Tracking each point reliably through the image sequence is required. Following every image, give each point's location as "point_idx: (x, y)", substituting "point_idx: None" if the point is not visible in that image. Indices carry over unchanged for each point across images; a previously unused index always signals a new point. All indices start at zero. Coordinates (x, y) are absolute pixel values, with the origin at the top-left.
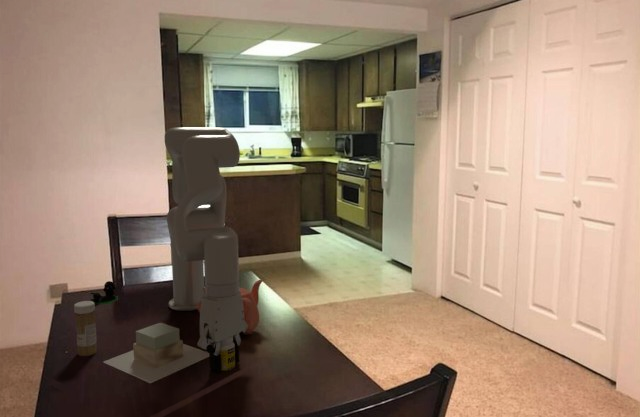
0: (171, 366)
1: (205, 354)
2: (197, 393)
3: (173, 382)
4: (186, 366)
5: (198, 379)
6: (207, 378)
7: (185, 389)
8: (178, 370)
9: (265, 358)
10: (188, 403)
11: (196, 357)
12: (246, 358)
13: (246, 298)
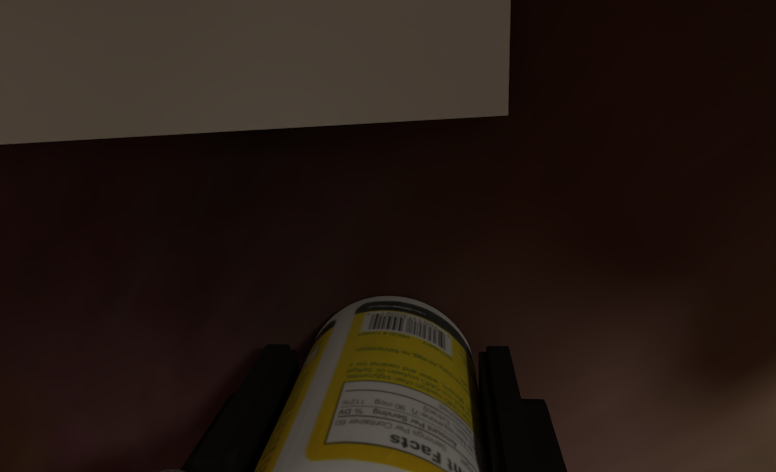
0: (40, 5)
1: (453, 39)
2: (92, 432)
3: (20, 211)
4: (152, 132)
5: (179, 314)
6: (233, 350)
7: (53, 348)
8: (66, 140)
9: (754, 460)
10: (13, 464)
11: (335, 27)
12: (674, 348)
13: None
